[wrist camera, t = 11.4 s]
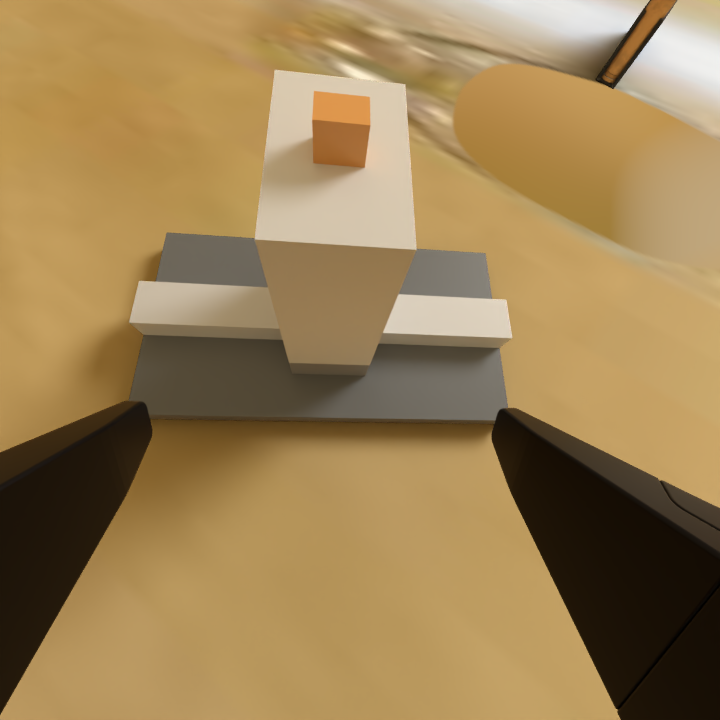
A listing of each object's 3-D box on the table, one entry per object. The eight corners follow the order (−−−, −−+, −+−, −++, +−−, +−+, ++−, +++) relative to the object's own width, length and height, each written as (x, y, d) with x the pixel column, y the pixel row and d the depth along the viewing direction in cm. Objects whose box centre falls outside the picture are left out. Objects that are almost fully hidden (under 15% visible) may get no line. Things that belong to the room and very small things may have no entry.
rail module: (365, 375, 19) (430, 215, 8) (292, 373, 19) (243, 201, 7) (364, 278, 21) (414, 37, 10) (298, 274, 21) (269, 20, 9)
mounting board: (477, 264, 24) (496, 238, 21) (499, 423, 20) (524, 415, 18) (174, 245, 22) (155, 214, 19) (137, 418, 18) (108, 408, 16)
